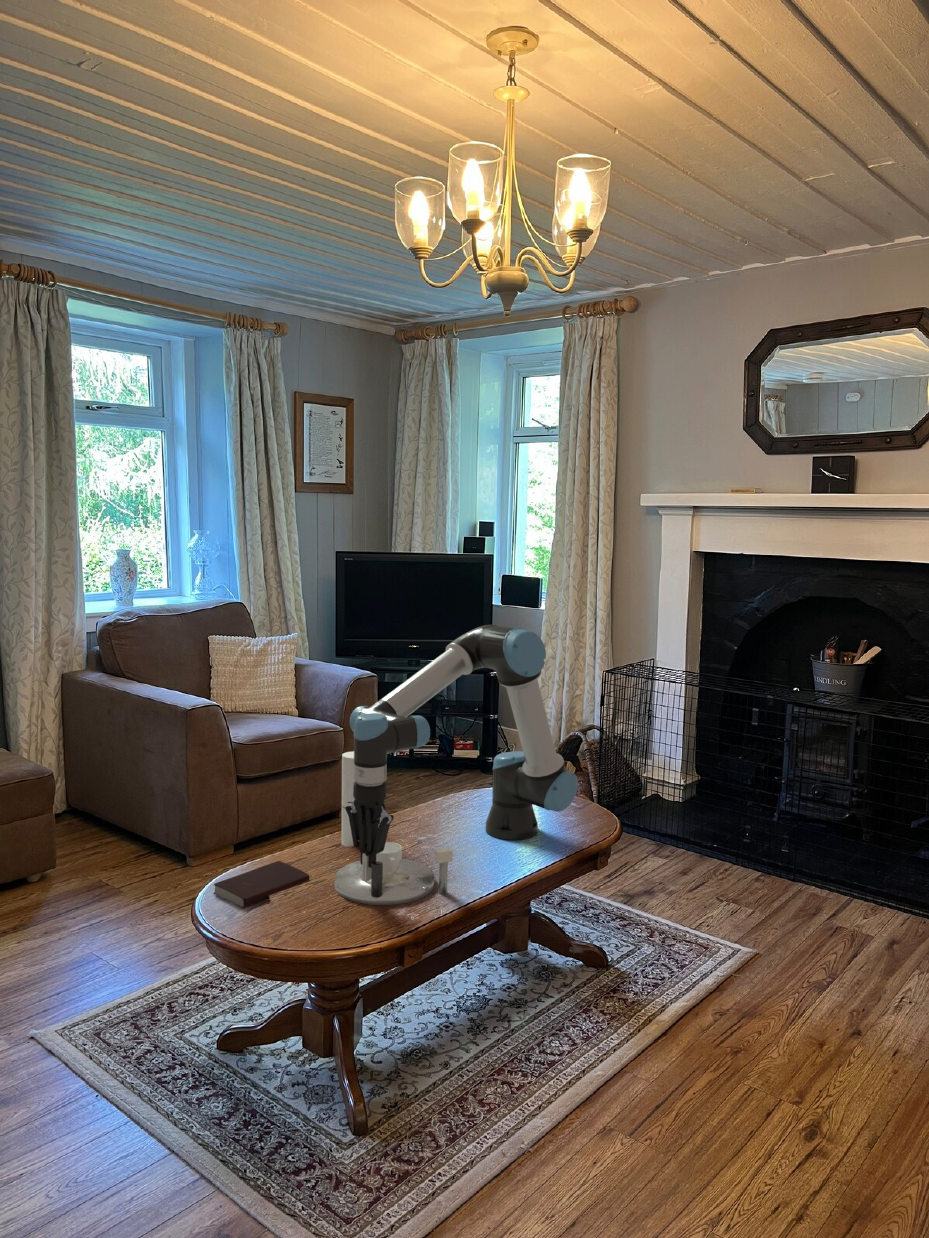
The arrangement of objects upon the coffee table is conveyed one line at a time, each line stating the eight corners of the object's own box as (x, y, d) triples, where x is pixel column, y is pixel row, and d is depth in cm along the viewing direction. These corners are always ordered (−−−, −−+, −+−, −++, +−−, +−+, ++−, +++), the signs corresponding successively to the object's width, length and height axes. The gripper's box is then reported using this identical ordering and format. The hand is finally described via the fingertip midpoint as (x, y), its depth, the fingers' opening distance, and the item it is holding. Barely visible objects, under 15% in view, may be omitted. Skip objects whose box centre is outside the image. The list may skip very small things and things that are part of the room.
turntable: (346, 862, 230) (346, 826, 229) (439, 867, 228) (439, 831, 227) (324, 902, 206) (324, 862, 205) (427, 908, 204) (428, 868, 203)
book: (310, 885, 219) (310, 873, 219) (243, 910, 204) (243, 897, 204) (278, 872, 227) (278, 859, 227) (212, 895, 212) (212, 882, 212)
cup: (395, 866, 223) (395, 840, 222) (409, 881, 214) (409, 854, 213) (365, 870, 220) (365, 843, 219) (378, 886, 211) (378, 858, 210)
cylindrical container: (362, 848, 243) (363, 759, 240) (337, 846, 244) (338, 757, 241) (370, 839, 250) (371, 752, 247) (346, 837, 251) (347, 750, 248)
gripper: (338, 779, 206) (336, 876, 209) (380, 791, 199) (378, 892, 202) (359, 771, 212) (358, 866, 215) (401, 783, 205) (399, 881, 208)
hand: (368, 878), depth 208 cm, fingers closed
